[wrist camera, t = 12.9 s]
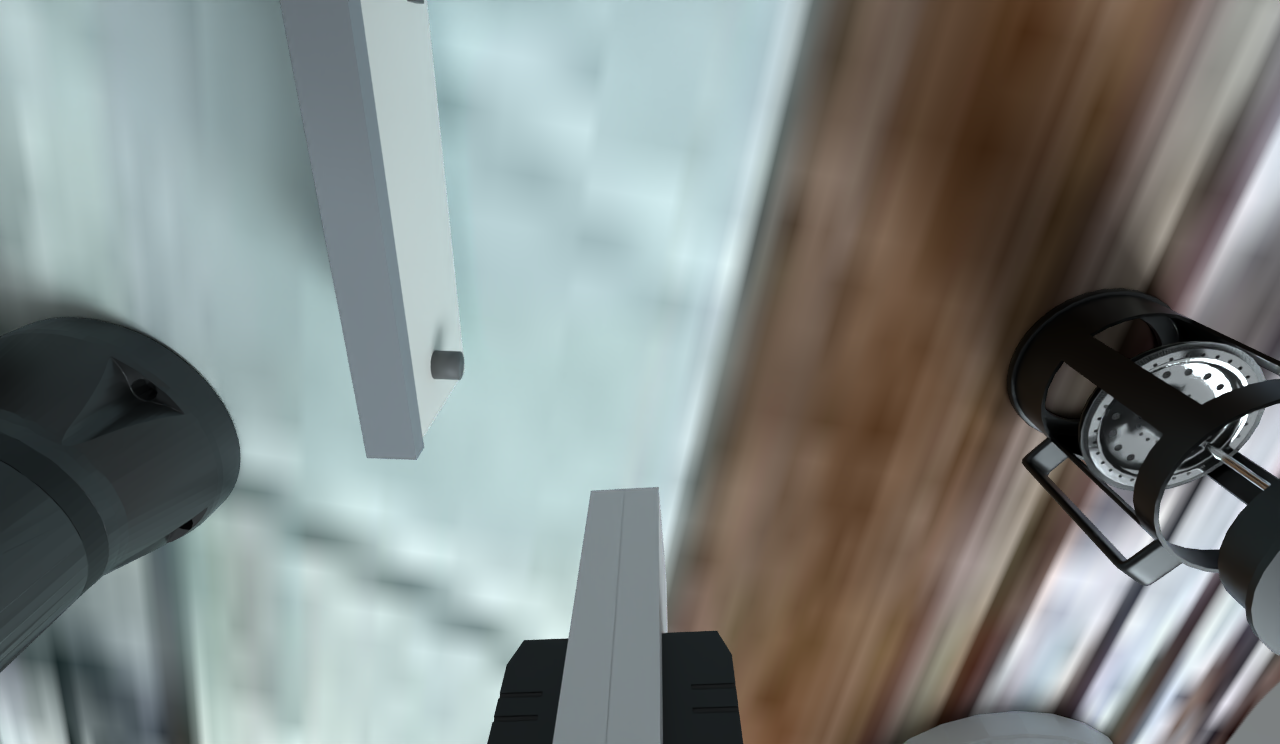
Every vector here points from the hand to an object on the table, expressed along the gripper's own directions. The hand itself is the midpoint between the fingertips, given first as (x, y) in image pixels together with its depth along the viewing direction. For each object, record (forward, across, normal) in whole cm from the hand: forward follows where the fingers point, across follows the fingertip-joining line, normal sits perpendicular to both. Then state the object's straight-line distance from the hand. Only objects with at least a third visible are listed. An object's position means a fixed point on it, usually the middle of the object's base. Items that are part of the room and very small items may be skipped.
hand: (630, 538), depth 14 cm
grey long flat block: (+21, -10, +6) cm, 24 cm away
